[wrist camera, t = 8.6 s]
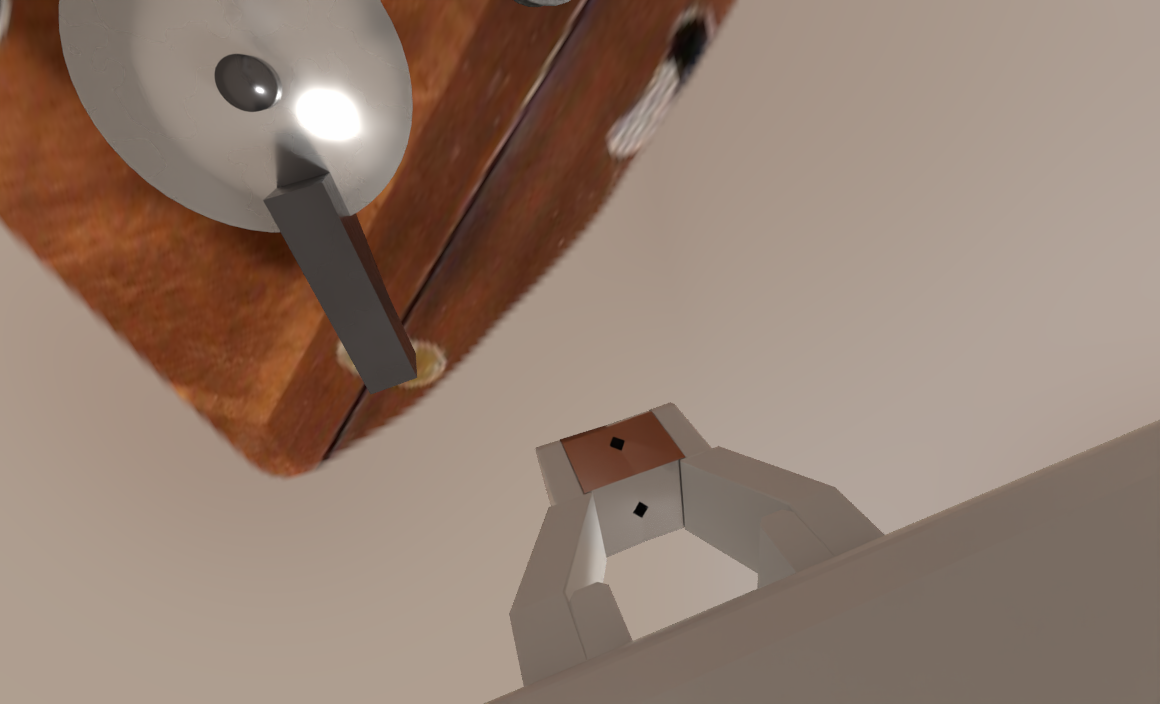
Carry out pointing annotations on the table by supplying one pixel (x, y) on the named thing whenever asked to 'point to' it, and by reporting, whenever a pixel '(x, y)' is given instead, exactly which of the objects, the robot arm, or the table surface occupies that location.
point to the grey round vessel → (540, 2)
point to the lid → (262, 131)
